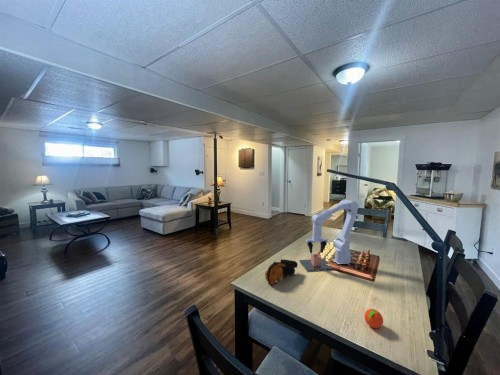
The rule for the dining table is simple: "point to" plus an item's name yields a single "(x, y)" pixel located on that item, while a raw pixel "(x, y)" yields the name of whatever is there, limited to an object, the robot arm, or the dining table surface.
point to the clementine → (373, 318)
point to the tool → (280, 270)
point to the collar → (316, 259)
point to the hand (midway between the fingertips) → (316, 252)
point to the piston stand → (310, 267)
